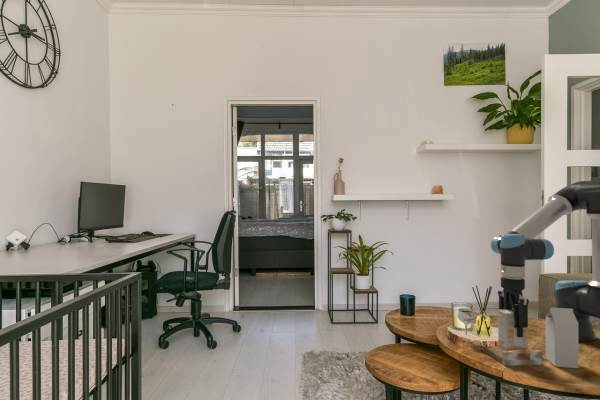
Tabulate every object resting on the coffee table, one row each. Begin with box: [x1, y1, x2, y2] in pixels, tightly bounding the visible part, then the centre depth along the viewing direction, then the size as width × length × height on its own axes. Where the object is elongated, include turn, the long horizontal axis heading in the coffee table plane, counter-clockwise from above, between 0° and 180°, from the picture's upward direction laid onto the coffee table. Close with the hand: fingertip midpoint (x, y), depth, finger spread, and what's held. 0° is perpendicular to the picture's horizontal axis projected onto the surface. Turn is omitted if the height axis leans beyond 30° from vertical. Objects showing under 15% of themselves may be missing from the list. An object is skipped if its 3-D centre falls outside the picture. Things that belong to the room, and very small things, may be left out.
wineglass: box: [456, 307, 476, 336], centre depth 151 cm, size 7×7×12 cm
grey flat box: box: [482, 345, 544, 367], centre depth 133 cm, size 14×12×4 cm
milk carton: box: [545, 307, 579, 369], centre depth 129 cm, size 7×7×19 cm
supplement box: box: [497, 308, 529, 350], centre depth 133 cm, size 8×5×13 cm, turn 94°
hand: (512, 342), depth 133 cm, fingers closed on supplement box, 5 cm apart
